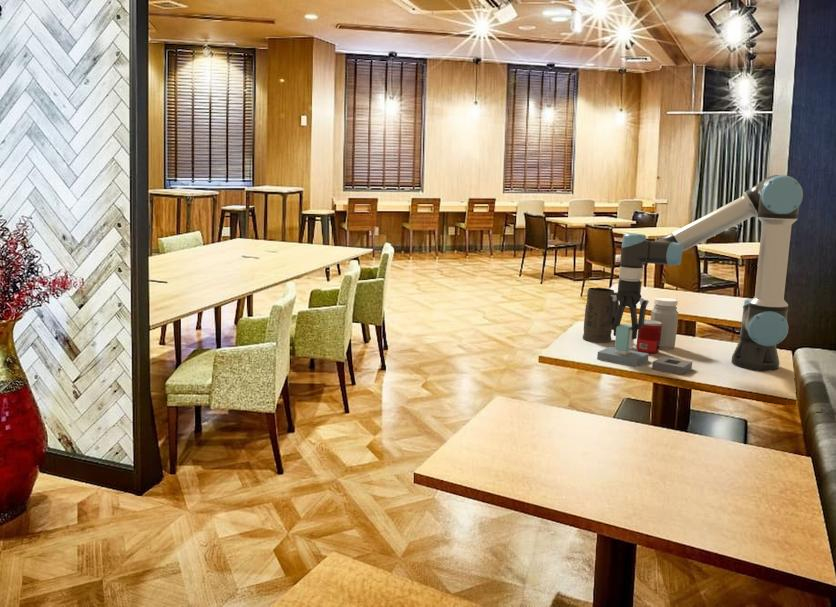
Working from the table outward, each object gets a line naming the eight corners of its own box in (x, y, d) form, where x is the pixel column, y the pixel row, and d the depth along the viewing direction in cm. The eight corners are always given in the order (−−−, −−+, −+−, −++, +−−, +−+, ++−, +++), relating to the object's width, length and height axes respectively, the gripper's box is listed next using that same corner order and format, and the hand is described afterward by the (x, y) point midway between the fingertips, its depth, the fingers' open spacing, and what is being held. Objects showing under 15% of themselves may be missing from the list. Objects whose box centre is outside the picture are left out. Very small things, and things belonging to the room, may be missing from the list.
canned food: (661, 354, 280) (664, 324, 278) (639, 353, 280) (642, 323, 278) (655, 349, 287) (658, 320, 285) (633, 348, 287) (636, 319, 285)
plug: (631, 356, 270) (634, 325, 268) (625, 359, 266) (628, 328, 264) (620, 354, 273) (623, 323, 271) (614, 357, 268) (616, 326, 266)
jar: (671, 351, 286) (676, 302, 283) (644, 346, 291) (649, 299, 288) (677, 346, 294) (682, 299, 291) (651, 342, 299) (656, 295, 296)
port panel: (648, 360, 270) (648, 353, 269) (636, 366, 261) (637, 359, 261) (609, 353, 278) (610, 346, 277) (597, 358, 269) (597, 351, 268)
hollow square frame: (691, 369, 261) (692, 361, 260) (682, 374, 253) (683, 367, 252) (661, 363, 267) (662, 356, 266) (651, 369, 259) (652, 361, 258)
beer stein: (599, 344, 291) (606, 291, 289) (575, 338, 299) (582, 286, 297) (622, 342, 302) (629, 290, 299) (598, 336, 310) (605, 286, 307)
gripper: (658, 281, 263) (652, 349, 267) (610, 275, 272) (604, 340, 276) (651, 283, 256) (644, 353, 261) (602, 277, 266) (596, 344, 270)
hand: (623, 346), depth 269 cm, fingers closed on plug, 4 cm apart
